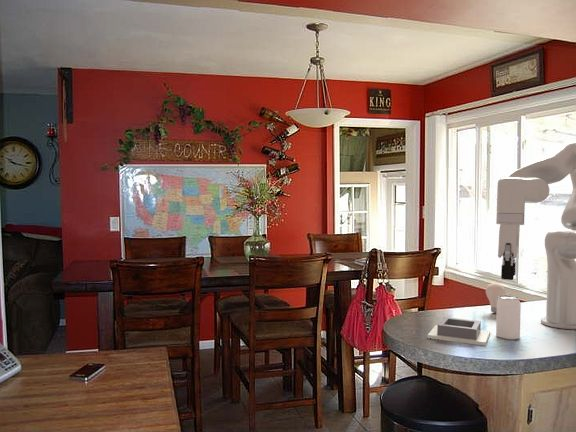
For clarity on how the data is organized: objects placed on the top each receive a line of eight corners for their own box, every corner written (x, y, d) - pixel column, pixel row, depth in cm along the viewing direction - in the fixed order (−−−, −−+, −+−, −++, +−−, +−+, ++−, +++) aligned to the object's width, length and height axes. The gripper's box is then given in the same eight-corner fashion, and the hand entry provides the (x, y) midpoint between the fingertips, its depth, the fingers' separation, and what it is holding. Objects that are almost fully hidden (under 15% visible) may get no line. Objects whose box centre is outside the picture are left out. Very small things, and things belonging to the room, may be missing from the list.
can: (492, 334, 151) (492, 295, 150) (512, 334, 151) (513, 294, 151) (502, 340, 144) (503, 299, 144) (524, 340, 145) (525, 299, 144)
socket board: (490, 334, 150) (490, 321, 150) (485, 345, 139) (485, 331, 139) (435, 327, 158) (436, 315, 157) (427, 338, 146) (427, 324, 146)
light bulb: (481, 311, 180) (481, 281, 180) (496, 310, 182) (496, 280, 182) (493, 316, 174) (494, 284, 173) (509, 314, 176) (509, 283, 175)
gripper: (498, 218, 156) (497, 272, 156) (493, 219, 140) (492, 280, 141) (525, 219, 152) (523, 274, 153) (523, 220, 137) (521, 282, 137)
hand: (508, 277), depth 147 cm, fingers open, 9 cm apart
